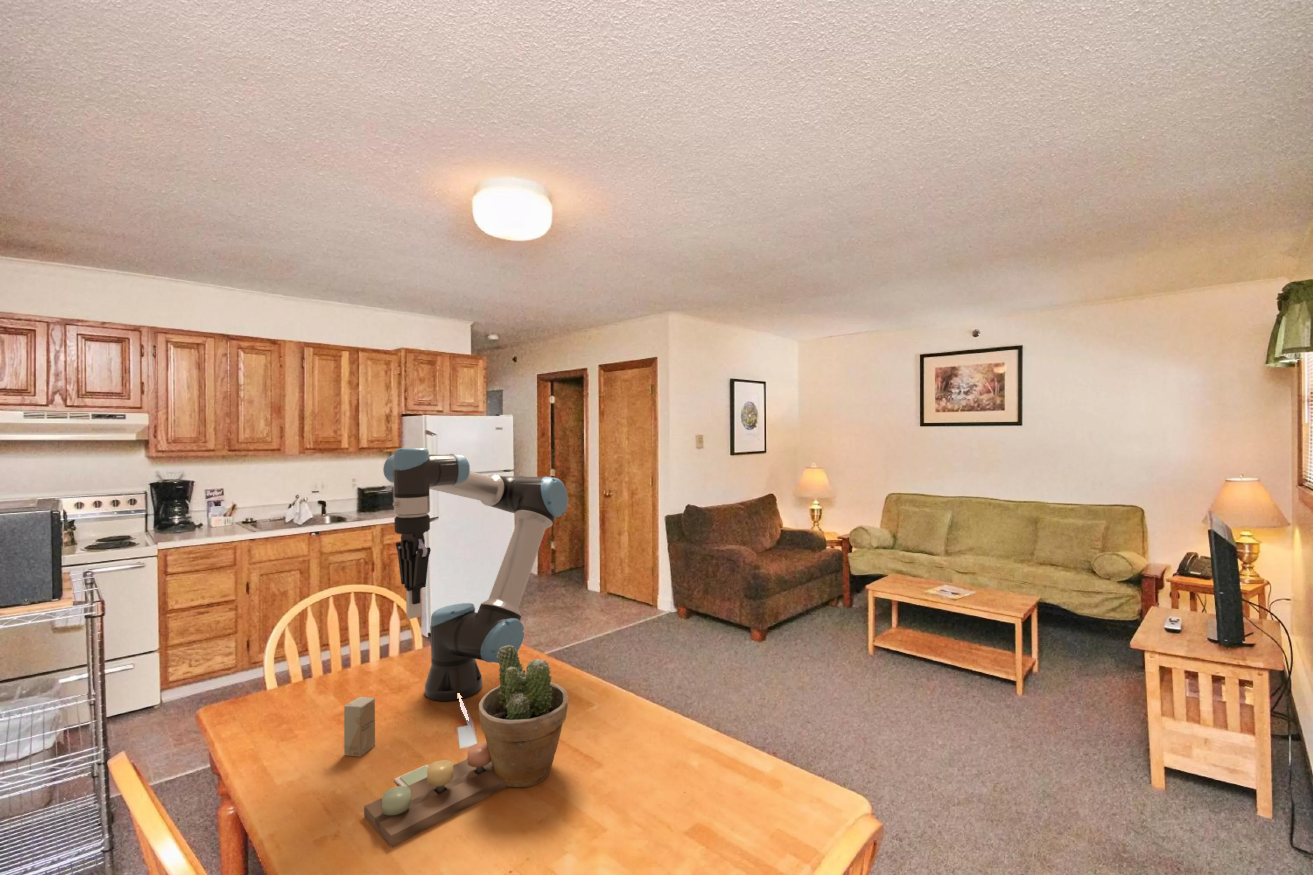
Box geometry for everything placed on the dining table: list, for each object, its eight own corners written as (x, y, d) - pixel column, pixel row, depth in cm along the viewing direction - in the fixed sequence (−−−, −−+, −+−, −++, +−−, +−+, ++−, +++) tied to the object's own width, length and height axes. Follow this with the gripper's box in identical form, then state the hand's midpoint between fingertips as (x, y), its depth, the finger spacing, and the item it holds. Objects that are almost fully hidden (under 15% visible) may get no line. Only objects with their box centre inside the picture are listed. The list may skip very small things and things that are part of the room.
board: (480, 761, 127) (479, 752, 127) (510, 784, 119) (510, 774, 118) (364, 816, 109) (364, 805, 109) (391, 846, 101) (391, 835, 101)
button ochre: (446, 779, 117) (445, 756, 117) (458, 789, 114) (457, 766, 114) (423, 790, 114) (422, 767, 114) (434, 801, 110) (434, 777, 110)
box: (360, 757, 129) (359, 707, 129) (343, 755, 130) (342, 706, 130) (376, 744, 134) (375, 697, 134) (360, 742, 135) (359, 695, 135)
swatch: (427, 766, 125) (427, 762, 125) (442, 779, 120) (442, 775, 120) (394, 780, 120) (394, 777, 120) (409, 795, 115) (409, 791, 115)
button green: (404, 806, 111) (403, 782, 111) (415, 817, 108) (415, 793, 108) (378, 819, 107) (377, 794, 107) (389, 831, 104) (388, 805, 104)
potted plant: (582, 756, 129) (583, 644, 128) (539, 809, 111) (541, 679, 110) (510, 741, 134) (511, 634, 134) (458, 788, 117) (459, 665, 116)
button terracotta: (484, 761, 123) (483, 740, 123) (496, 770, 120) (496, 748, 120) (463, 771, 120) (462, 749, 120) (475, 780, 117) (474, 758, 117)
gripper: (383, 514, 136) (385, 614, 136) (408, 519, 127) (410, 627, 127) (415, 510, 141) (417, 607, 141) (441, 515, 132) (442, 618, 133)
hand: (413, 616), depth 134 cm, fingers closed
